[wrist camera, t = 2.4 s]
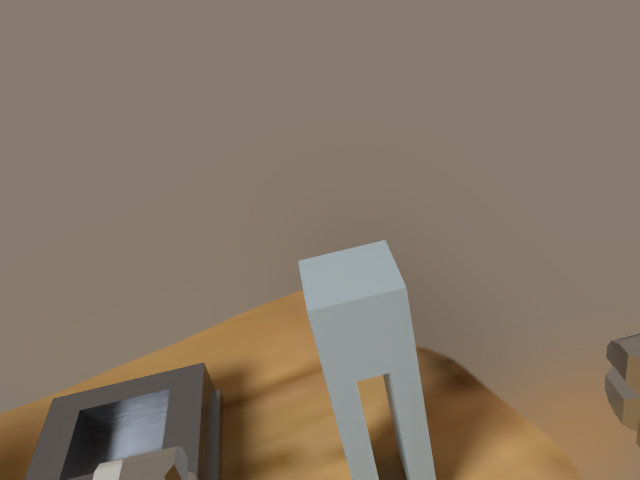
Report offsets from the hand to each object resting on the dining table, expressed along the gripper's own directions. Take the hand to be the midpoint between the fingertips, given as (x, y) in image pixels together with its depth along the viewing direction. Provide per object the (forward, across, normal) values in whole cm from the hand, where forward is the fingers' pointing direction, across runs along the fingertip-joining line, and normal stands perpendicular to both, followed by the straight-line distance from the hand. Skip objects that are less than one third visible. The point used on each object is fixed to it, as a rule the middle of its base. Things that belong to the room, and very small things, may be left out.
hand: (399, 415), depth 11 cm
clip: (+12, 0, -18) cm, 21 cm away
